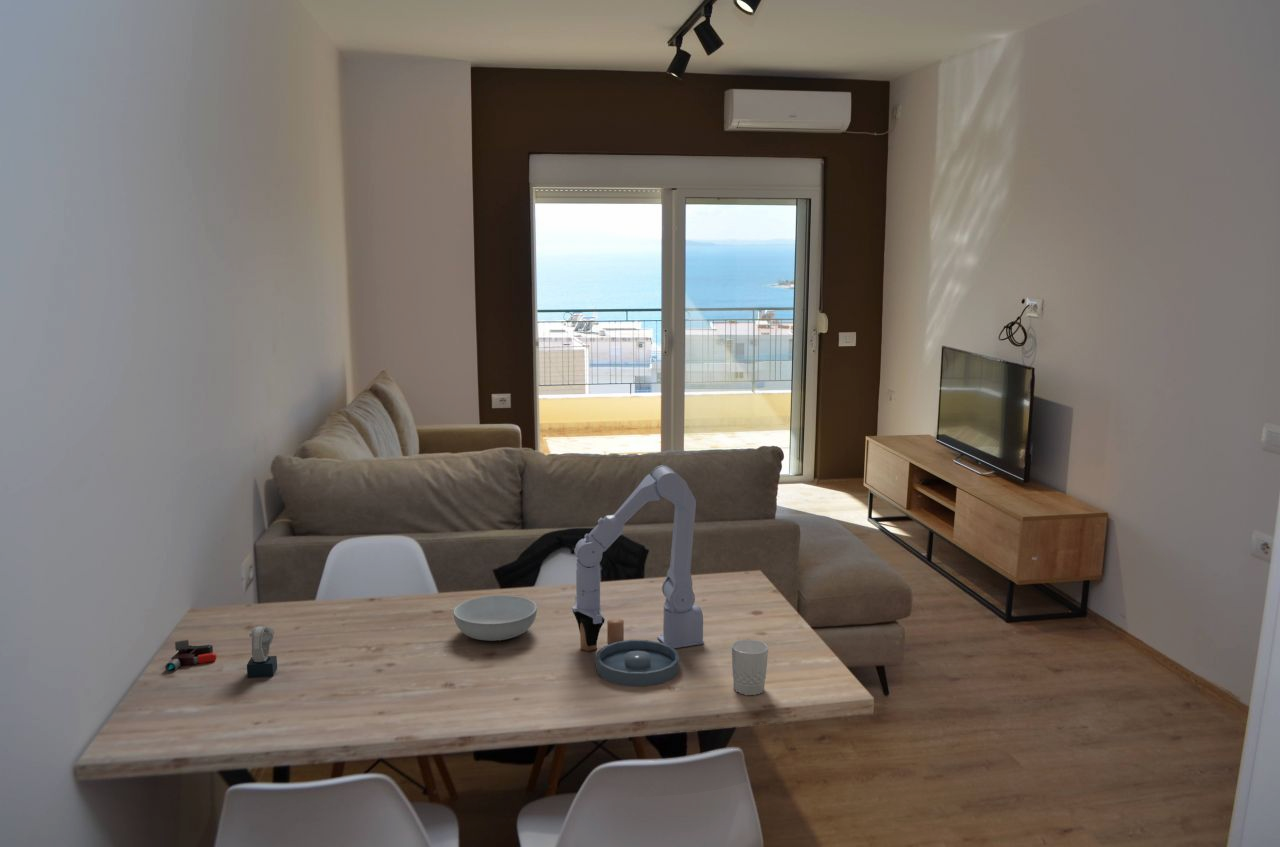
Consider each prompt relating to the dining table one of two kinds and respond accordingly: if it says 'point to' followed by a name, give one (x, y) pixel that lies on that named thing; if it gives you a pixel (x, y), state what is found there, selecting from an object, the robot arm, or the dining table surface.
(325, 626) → the dining table surface
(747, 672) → the grey cup
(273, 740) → the dining table surface
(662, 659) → the ring tray
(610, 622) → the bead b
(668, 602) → the robot arm
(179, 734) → the dining table surface
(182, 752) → the dining table surface
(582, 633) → the tan wooden cylinder
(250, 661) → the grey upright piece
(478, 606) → the serving bowl
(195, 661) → the toy gun
